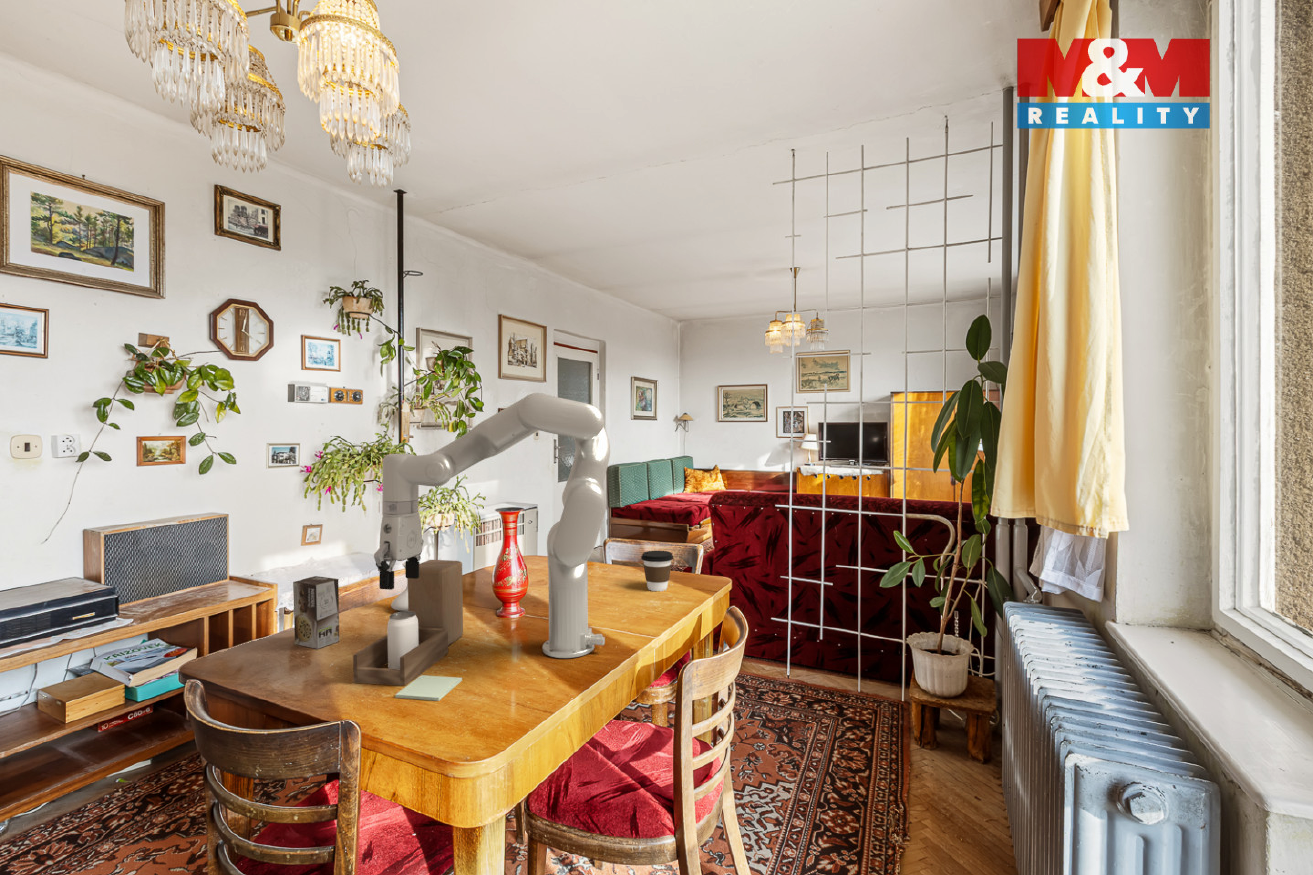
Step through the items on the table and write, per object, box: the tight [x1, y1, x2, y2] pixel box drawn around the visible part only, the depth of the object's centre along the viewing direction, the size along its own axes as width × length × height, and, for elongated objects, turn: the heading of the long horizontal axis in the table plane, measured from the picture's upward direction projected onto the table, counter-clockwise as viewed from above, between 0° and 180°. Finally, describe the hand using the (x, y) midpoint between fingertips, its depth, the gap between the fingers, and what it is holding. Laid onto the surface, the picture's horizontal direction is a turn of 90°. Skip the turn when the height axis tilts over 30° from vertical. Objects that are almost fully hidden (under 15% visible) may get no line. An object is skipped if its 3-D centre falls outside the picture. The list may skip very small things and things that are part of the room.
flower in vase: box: [390, 559, 421, 612], centre depth 179 cm, size 13×11×25 cm
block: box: [408, 559, 464, 646], centre depth 150 cm, size 10×10×20 cm
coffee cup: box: [640, 550, 674, 592], centre depth 198 cm, size 11×11×12 cm
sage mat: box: [394, 674, 463, 702], centre depth 123 cm, size 10×10×1 cm
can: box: [386, 611, 419, 669], centre depth 134 cm, size 6×6×12 cm
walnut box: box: [352, 627, 449, 687], centre depth 134 cm, size 12×18×6 cm, turn 171°
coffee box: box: [292, 575, 340, 650], centre depth 150 cm, size 9×6×16 cm
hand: (400, 583), depth 134 cm, fingers open, 9 cm apart
